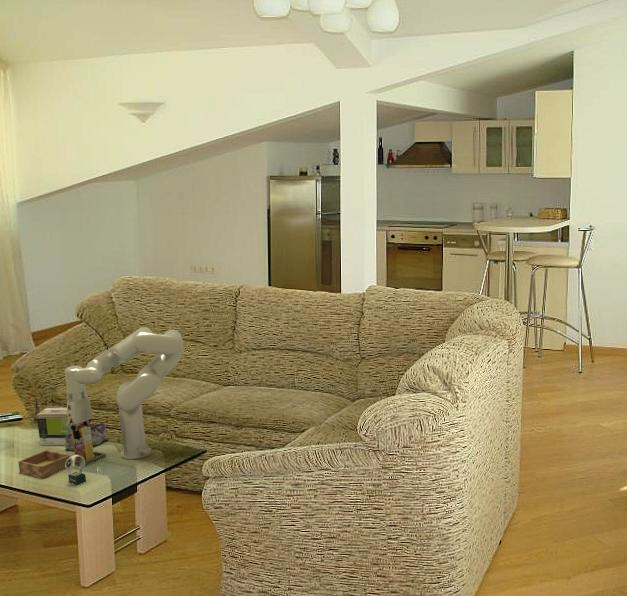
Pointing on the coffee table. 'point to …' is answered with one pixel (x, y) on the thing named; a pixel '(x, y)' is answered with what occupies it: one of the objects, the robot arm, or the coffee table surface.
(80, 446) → the candy box
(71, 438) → the geode
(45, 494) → the coffee table surface
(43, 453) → the crate
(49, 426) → the tea box
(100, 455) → the grey square frame
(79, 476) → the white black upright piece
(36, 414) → the eiffel tower figurine
